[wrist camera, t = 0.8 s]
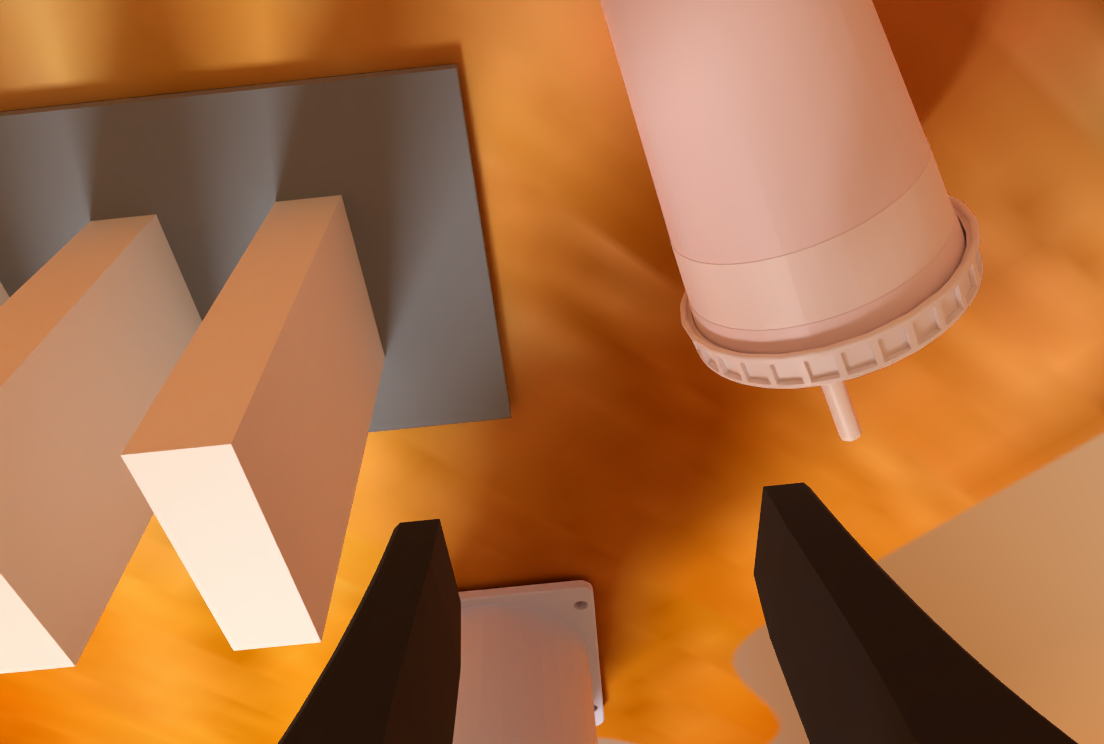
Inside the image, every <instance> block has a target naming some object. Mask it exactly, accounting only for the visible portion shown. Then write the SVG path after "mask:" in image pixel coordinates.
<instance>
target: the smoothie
mask: <svg viewBox="0 0 1104 744" xmlns="http://www.w3.org/2000/svg"><path fill="white" fill-rule="evenodd" d="M600 3H601V6H602V9H603V13H604V16H605V20H606V23H607V26H608V30H609V33H610V37H611V40H612V43H613V47H614V50H615V53H616V57H617V60H618V64H619V67H620V70H621V74H622V77H623V81H624V84H625V87H626V91H627V94H628V98H629V101H630V104H631V108H632V111H633V115H634V118H635V121H636V125H637V128H638V132H639V135H640V138H641V142H642V145H643V148H644V152H645V155H646V159H647V162H648V165H649V169H650V172H651V176H652V179H653V182H654V186H655V189H656V193H657V196H658V199H659V203H660V206H661V210H662V213H663V216H664V220H665V223H666V227H667V230H668V233H669V237H670V242H671V246H672V249H673V252H674V255H675V258H676V261H677V265H678V268H679V271H680V274H681V277H682V280H683V284H684V287H685V292H684V295H683V298H682V300H681V303H680V312H681V324H682V326H683V327H684V329H685V330H686V332H687V333H688V335H689V336H690V338H691V339H692V341H693V343H694V345H695V348H696V350H697V352H698V354H699V356H700V357H701V359H702V361H703V362H704V363H705V364H706V365H707V366H708V367H709V368H710V369H711V370H713V371H714V372H715V373H717V374H719V375H720V376H722V377H724V378H727V379H729V380H731V381H734V382H737V383H741V384H745V385H749V386H755V387H763V388H778V389H781V388H784V389H796V388H805V387H813V386H821V388H822V390H823V393H824V396H825V398H826V401H827V404H828V407H829V409H830V412H831V415H832V417H833V420H834V423H835V425H836V428H837V431H838V433H839V436H840V438H841V439H842V440H844V441H853V440H856V439H858V438H859V437H860V436H861V434H862V431H861V428H860V425H859V422H858V420H857V417H856V414H855V411H854V408H853V405H852V402H851V400H850V397H849V394H848V391H847V388H846V385H845V382H844V380H848V379H853V378H857V377H860V376H862V375H865V374H868V373H871V372H873V371H876V370H879V369H881V368H884V367H887V366H889V365H891V364H893V363H895V362H897V361H899V360H901V359H903V358H905V357H907V356H909V355H911V354H913V353H915V352H917V351H918V350H920V349H921V348H923V347H924V346H926V345H927V344H929V343H930V342H932V341H933V340H934V339H936V338H937V337H939V336H940V335H942V334H943V333H944V332H945V331H946V330H947V329H948V328H949V327H951V326H952V325H953V324H954V323H955V322H956V321H957V320H958V319H959V318H960V317H961V316H962V315H963V314H964V312H965V311H966V310H967V308H968V307H969V306H970V304H971V303H972V301H973V300H974V298H975V296H976V294H977V292H978V290H979V287H980V285H981V281H982V276H983V263H982V257H981V254H980V249H979V245H980V242H981V241H980V233H979V225H978V219H977V218H976V216H975V215H974V214H973V213H972V212H971V211H970V209H969V208H968V207H967V206H966V205H965V204H964V202H963V201H961V200H958V199H956V198H954V197H952V196H950V195H948V194H947V191H946V188H945V185H944V183H943V180H942V177H941V175H940V172H939V169H938V166H937V164H936V161H935V158H934V155H933V153H932V150H931V147H930V145H929V142H928V140H927V138H926V136H925V134H924V131H923V129H922V126H921V124H920V121H919V119H918V116H917V113H916V111H915V108H914V106H913V103H912V101H911V98H910V96H909V93H908V91H907V88H906V86H905V83H904V80H903V78H902V75H901V73H900V70H899V68H898V65H897V63H896V60H895V58H894V55H893V52H892V50H891V47H890V45H889V42H888V40H887V37H886V35H885V32H884V30H883V27H882V24H881V22H880V19H879V17H878V14H877V12H876V9H875V7H874V4H873V2H872V0H600Z"/></svg>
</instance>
